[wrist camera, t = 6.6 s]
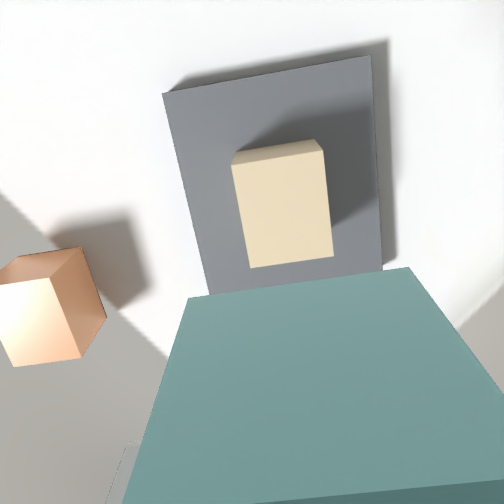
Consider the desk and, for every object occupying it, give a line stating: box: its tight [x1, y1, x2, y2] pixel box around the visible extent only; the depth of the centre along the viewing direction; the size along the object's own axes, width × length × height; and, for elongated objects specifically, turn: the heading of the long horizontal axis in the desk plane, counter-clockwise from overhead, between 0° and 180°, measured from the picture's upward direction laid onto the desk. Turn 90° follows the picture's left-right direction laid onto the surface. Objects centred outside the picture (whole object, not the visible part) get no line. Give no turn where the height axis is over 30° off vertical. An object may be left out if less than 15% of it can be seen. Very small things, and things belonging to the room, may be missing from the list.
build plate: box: [162, 55, 383, 295], centre depth 26 cm, size 14×12×6 cm
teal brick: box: [122, 267, 504, 504], centre depth 8 cm, size 6×5×5 cm
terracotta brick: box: [0, 247, 107, 367], centre depth 29 cm, size 6×5×5 cm
